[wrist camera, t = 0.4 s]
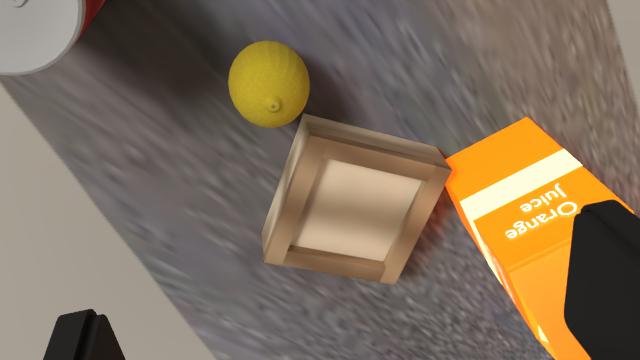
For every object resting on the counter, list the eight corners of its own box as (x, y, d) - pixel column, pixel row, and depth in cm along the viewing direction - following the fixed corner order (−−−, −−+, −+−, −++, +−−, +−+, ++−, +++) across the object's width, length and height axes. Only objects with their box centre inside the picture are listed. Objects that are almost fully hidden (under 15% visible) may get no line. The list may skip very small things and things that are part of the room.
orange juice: (433, 163, 49) (547, 333, 32) (527, 115, 48) (696, 264, 31) (463, 225, 53) (578, 405, 36) (550, 181, 52) (711, 346, 35)
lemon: (254, 12, 40) (261, 46, 33) (316, 54, 42) (334, 94, 36) (213, 74, 42) (212, 119, 35) (275, 111, 44) (285, 160, 37)
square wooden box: (303, 113, 45) (310, 135, 41) (436, 147, 48) (452, 170, 45) (261, 233, 50) (264, 262, 47) (383, 256, 53) (394, 284, 50)
